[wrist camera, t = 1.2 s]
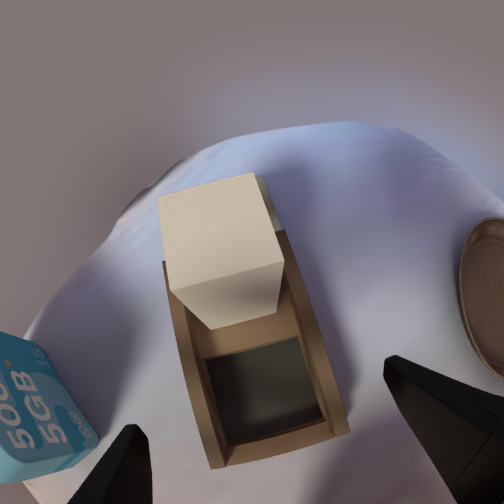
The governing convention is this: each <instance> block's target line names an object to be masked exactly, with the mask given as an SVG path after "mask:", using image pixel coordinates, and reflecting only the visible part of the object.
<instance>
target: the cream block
mask: <svg viewBox="0 0 504 504" xmlns="http://www.w3.org/2000/svg"><path fill="white" fill-rule="evenodd" d="M157 199H158V209H159V217H160V226H161V233H162V241H163V248H164V255H165V262H166V268H167V275H168V281H169V287H170V291H171V292H172V293H173V294H174V295H175V296H176V297H177V298H178V299H179V300H180V301H181V302H182V303H183V304H184V305H185V306H186V307H187V308H188V309H189V310H190V311H191V312H192V313H194V314H195V315H196V316H197V317H198V318H199V319H200V320H201V321H202V322H203V323H204V324H205V325H206V326H207V327H208V328H209V329H210V330H213V329H217V328H221V327H225V326H229V325H232V324H236V323H240V322H244V321H248V320H251V319H255V318H259V317H262V316H266V315H270V314H273V313H276V310H277V304H278V298H279V292H280V286H281V279H282V273H283V266H284V258H283V255H282V252H281V249H280V246H279V243H278V240H277V238H276V235H275V232H274V229H273V226H272V223H271V220H270V217H269V215H268V212H267V209H266V206H265V203H264V201H263V198H262V195H261V192H260V189H259V187H258V184H257V181H256V178H255V176H254V173H253V172H251V173H247V174H243V175H239V176H235V177H230V178H226V179H222V180H218V181H215V182H211V183H207V184H203V185H199V186H196V187H192V188H188V189H185V190H181V191H178V192H174V193H171V194H167V195H164V196H160V197H157Z"/></svg>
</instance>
